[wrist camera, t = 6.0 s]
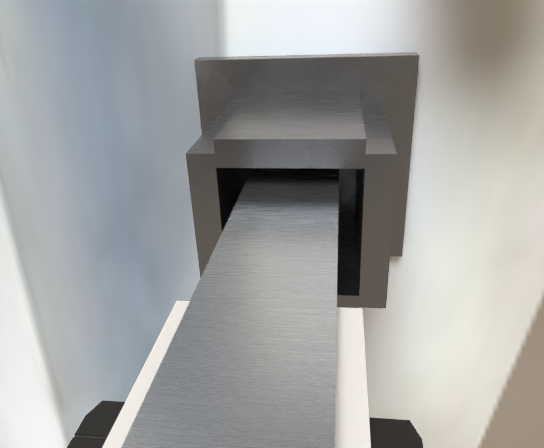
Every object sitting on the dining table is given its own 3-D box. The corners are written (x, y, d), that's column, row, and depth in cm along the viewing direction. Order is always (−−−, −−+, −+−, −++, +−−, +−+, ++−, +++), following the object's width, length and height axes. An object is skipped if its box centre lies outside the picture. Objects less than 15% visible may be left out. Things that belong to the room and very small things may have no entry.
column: (261, 240, 27) (-1, 1100, 6) (257, 157, 25) (-150, 1025, 4) (337, 241, 26) (320, 1185, 6) (339, 157, 24) (322, 1145, 4)
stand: (217, 244, 34) (159, 367, 23) (199, 57, 29) (113, 106, 18) (400, 248, 32) (429, 383, 22) (416, 52, 27) (464, 102, 16)
